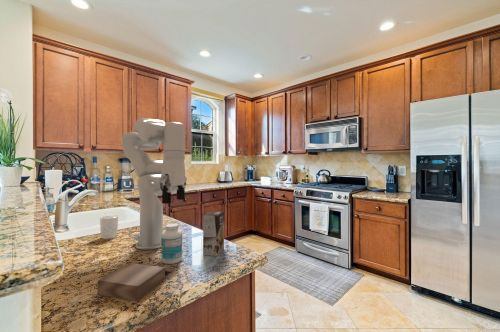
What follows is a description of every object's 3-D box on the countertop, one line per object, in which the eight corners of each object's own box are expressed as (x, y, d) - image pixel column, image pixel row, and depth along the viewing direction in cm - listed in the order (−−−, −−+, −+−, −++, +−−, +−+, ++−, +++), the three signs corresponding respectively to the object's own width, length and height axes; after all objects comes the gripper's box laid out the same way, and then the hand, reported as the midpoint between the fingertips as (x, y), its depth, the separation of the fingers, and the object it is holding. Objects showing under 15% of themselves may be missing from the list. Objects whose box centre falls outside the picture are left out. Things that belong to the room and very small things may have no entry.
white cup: (121, 236, 120) (121, 216, 120) (104, 240, 113) (105, 219, 113) (113, 234, 124) (113, 214, 124) (96, 237, 117) (96, 217, 117)
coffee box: (217, 256, 94) (217, 215, 94) (202, 255, 95) (202, 214, 95) (224, 248, 103) (224, 211, 103) (210, 247, 104) (210, 210, 104)
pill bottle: (164, 257, 93) (164, 222, 93) (183, 256, 94) (183, 222, 94) (158, 265, 85) (158, 227, 85) (179, 264, 86) (179, 227, 86)
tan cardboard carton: (97, 297, 66) (97, 280, 66) (146, 267, 85) (146, 254, 85) (137, 304, 63) (137, 286, 63) (178, 272, 82) (178, 257, 82)
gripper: (177, 156, 99) (177, 197, 99) (151, 154, 82) (150, 204, 82) (194, 156, 97) (193, 198, 97) (170, 155, 80) (170, 205, 81)
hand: (173, 201), depth 90 cm, fingers open, 9 cm apart
